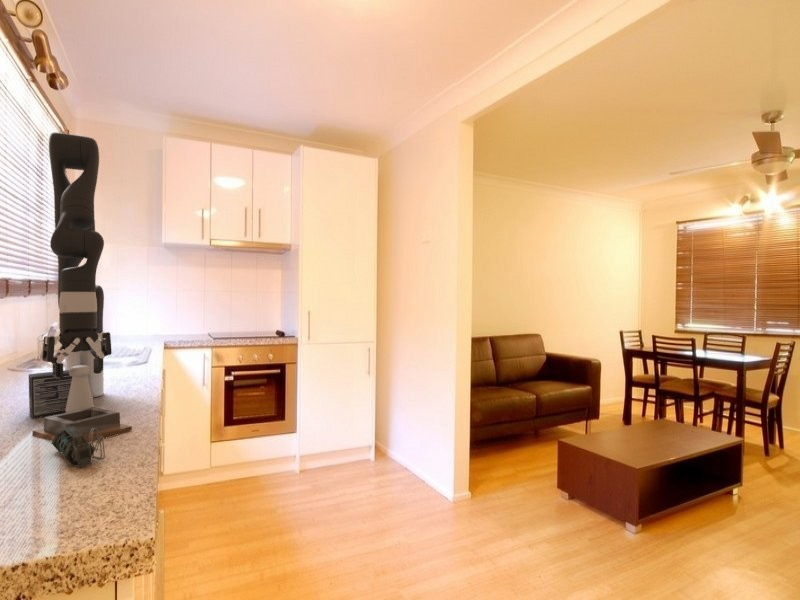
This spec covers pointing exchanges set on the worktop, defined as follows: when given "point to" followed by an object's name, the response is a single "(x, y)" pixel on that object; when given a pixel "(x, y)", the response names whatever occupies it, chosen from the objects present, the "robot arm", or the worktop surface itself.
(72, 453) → the stun grenade
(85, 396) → the salt shaker
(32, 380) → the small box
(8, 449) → the worktop surface
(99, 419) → the socket board
